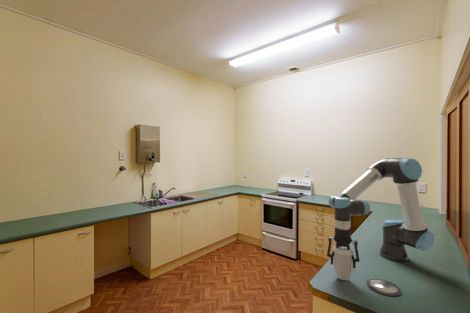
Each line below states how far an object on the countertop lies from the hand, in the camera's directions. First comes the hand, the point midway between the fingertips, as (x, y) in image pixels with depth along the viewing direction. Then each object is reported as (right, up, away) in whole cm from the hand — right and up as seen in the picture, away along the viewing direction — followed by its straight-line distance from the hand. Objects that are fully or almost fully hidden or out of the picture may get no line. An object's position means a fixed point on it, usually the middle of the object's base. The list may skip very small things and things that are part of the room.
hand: (342, 272), depth 116 cm
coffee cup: (0, -2, 0) cm, 2 cm away
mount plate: (+16, -4, -7) cm, 18 cm away
